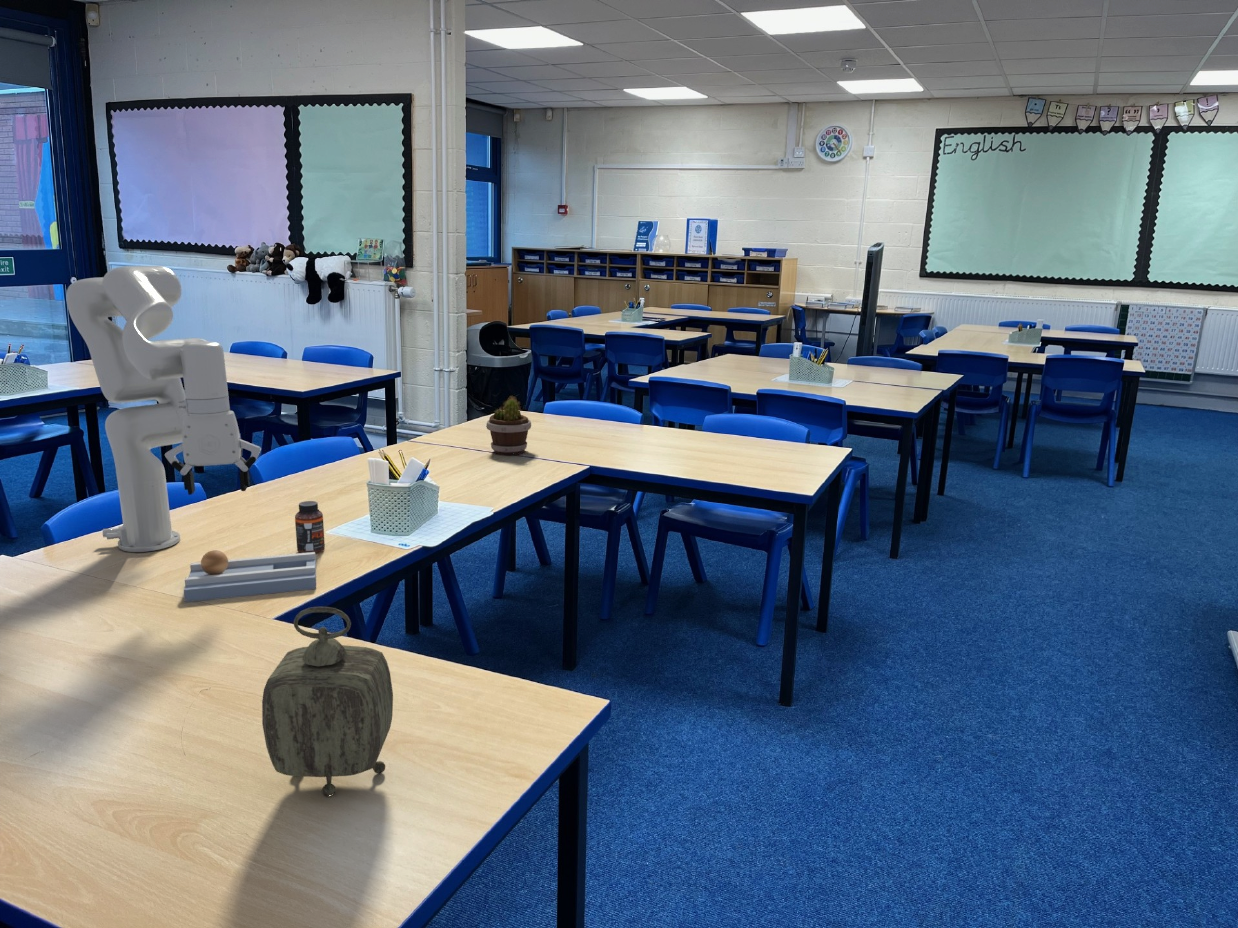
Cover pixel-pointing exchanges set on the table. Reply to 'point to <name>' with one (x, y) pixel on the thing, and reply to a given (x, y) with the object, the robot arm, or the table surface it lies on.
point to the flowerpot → (509, 429)
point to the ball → (214, 562)
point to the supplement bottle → (309, 528)
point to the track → (253, 577)
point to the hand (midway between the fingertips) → (218, 491)
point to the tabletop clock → (327, 707)
